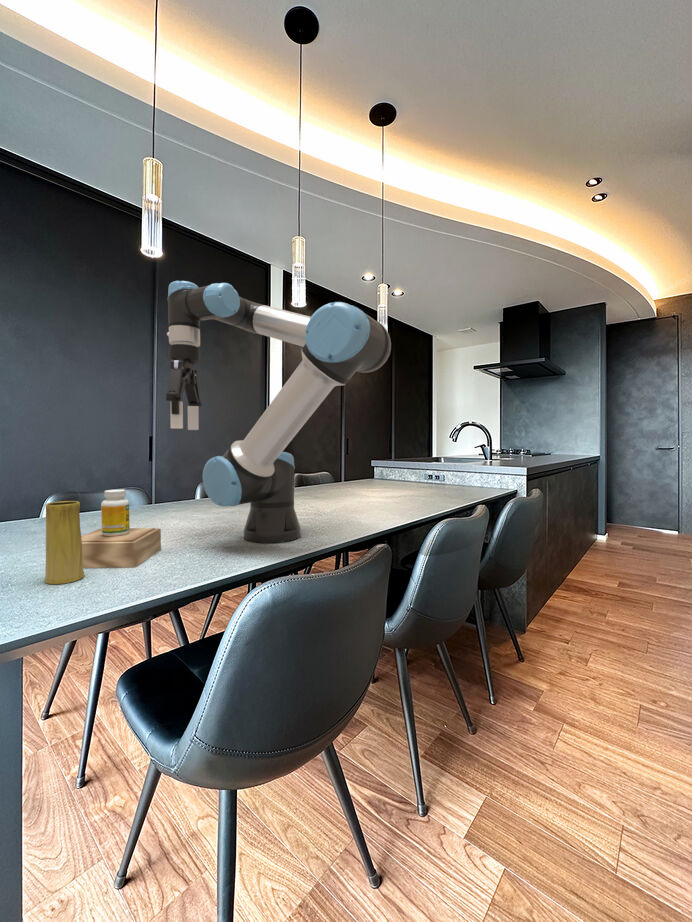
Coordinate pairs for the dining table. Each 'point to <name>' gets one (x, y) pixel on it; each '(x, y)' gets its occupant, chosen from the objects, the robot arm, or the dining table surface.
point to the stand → (120, 548)
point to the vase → (63, 543)
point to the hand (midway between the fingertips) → (185, 429)
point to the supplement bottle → (115, 513)
